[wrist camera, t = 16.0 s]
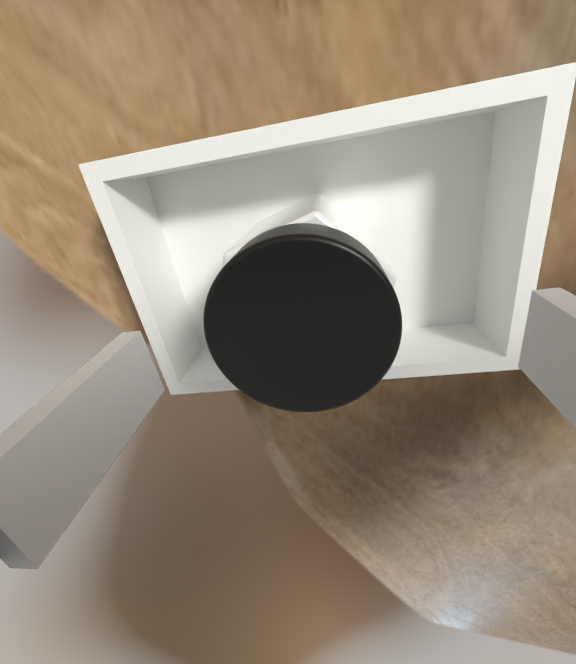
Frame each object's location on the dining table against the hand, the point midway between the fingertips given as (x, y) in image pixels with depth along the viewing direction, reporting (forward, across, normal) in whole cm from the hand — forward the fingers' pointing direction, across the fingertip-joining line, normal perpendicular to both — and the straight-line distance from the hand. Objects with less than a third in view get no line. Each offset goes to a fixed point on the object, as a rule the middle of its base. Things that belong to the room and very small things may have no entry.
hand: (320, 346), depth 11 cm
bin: (+15, 0, 0) cm, 15 cm away
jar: (+14, +1, 0) cm, 14 cm away
